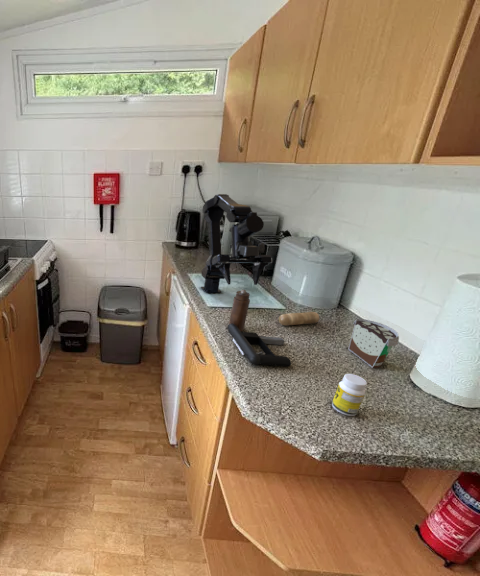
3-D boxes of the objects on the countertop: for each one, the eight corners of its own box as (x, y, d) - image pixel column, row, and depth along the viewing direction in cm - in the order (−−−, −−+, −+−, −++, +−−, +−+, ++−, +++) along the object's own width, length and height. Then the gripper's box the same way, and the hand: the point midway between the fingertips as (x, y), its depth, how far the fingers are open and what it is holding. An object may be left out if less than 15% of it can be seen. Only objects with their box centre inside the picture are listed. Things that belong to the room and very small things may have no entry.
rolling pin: (282, 328, 107) (285, 317, 106) (274, 322, 111) (277, 312, 109) (320, 324, 110) (323, 314, 108) (311, 319, 113) (314, 309, 112)
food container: (399, 371, 85) (414, 340, 82) (376, 371, 85) (390, 339, 82) (364, 347, 97) (376, 318, 93) (344, 346, 97) (355, 317, 93)
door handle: (273, 326, 103) (224, 322, 103) (308, 362, 85) (249, 357, 85) (270, 335, 104) (222, 330, 105) (304, 372, 86) (245, 367, 86)
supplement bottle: (334, 398, 75) (345, 369, 72) (358, 409, 72) (371, 379, 69) (329, 408, 72) (340, 378, 69) (354, 420, 69) (367, 389, 66)
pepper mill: (225, 325, 108) (232, 287, 103) (238, 324, 109) (246, 286, 104) (233, 332, 104) (241, 292, 99) (246, 331, 105) (255, 292, 99)
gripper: (223, 233, 102) (225, 281, 100) (280, 234, 102) (283, 281, 101) (210, 242, 113) (212, 285, 111) (262, 243, 113) (264, 286, 112)
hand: (242, 284), depth 108 cm, fingers open, 9 cm apart
